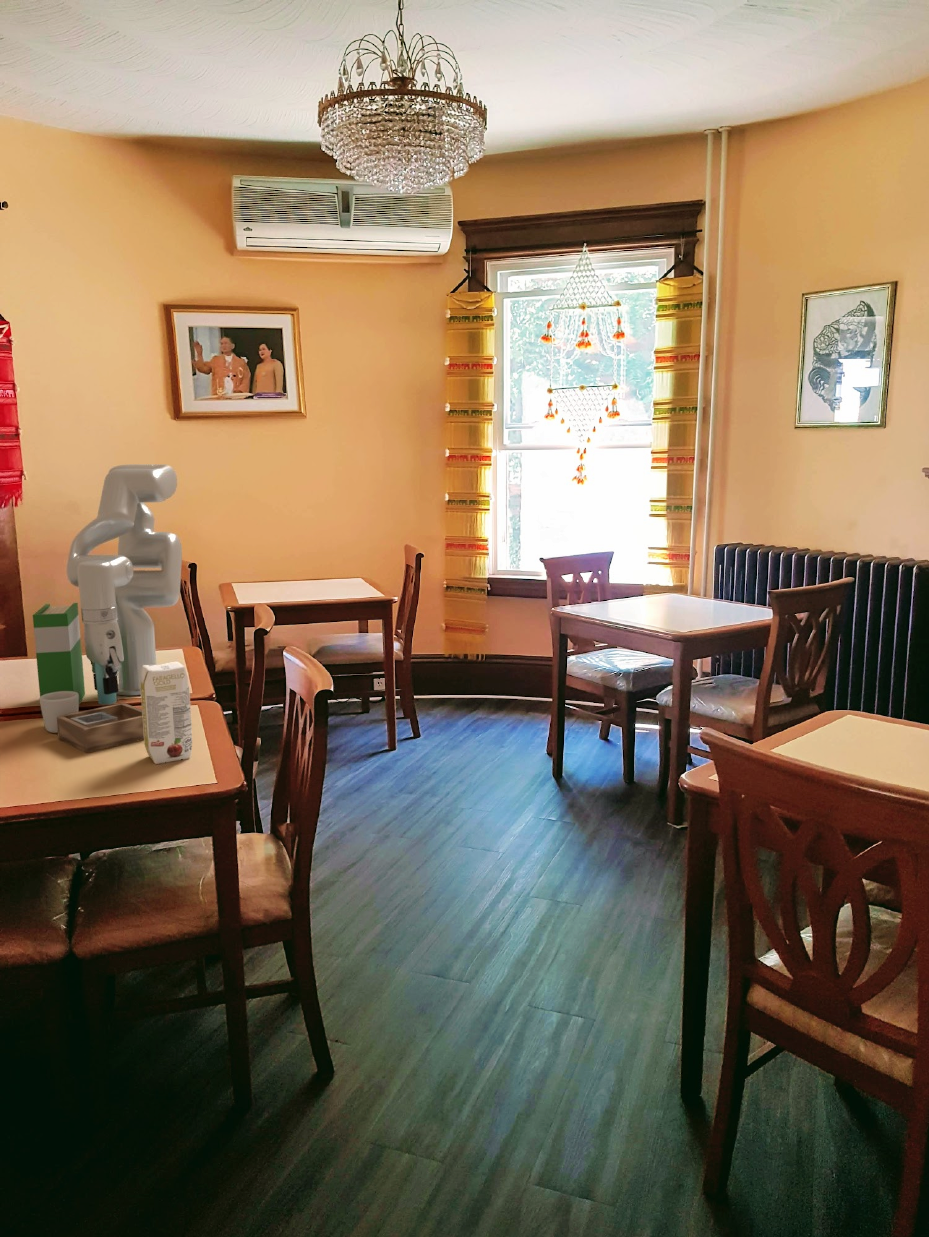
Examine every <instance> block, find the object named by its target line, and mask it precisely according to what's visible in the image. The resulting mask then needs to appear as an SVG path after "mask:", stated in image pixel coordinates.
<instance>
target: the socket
mask: <svg viewBox="0 0 929 1237" xmlns="http://www.w3.org/2000/svg"><path fill="white" fill-rule="evenodd" d="M71 720H72V721H74V722H77V723H79V724H81V725H83V726H86V727H93V726H97V725H102V724H107V723H111V722H116V721H118V718H117V717H115V716H112V715H110V714H107V713H105V712H98V713H93V714H89V715H84V716H79V717H74V718H71Z"/></svg>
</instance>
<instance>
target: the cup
mask: <svg viewBox="0 0 929 1237" xmlns="http://www.w3.org/2000/svg"><path fill="white" fill-rule="evenodd" d="M38 699H39V704H40V711H41V710H42V713H41V715H42V718H43V723H44V727H45V729H46V731H47V732H49V733H53V734H55V733H56V734H58V727H57V716H62V715H67V714H72V713H77V712H79V707H80V705H79V694H78V693H77V692H73V691H60V692H52V693H48V694H45V695H42V696H41V697H40V696H39V698H38Z"/></svg>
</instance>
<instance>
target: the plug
mask: <svg viewBox="0 0 929 1237" xmlns="http://www.w3.org/2000/svg"><path fill="white" fill-rule="evenodd" d="M107 663H108V664H109V663H111V661H107ZM109 668H111V666H109V667H107V670H108V669H109ZM95 673H96V683H97V690H96V691H97V692H96V693H97V701H98V704H99V705H101V706H104V705H105V706H106V705H107V706H109V705H114V704H116V703H117V702H118V701H117V700H118V699H117V694H116V693H112V694H108V695H106V694H104V688H103V678H105V677H104V673H103V667H102V665H101V664H98V663H96V662H95ZM95 673H94V674H95Z"/></svg>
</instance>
